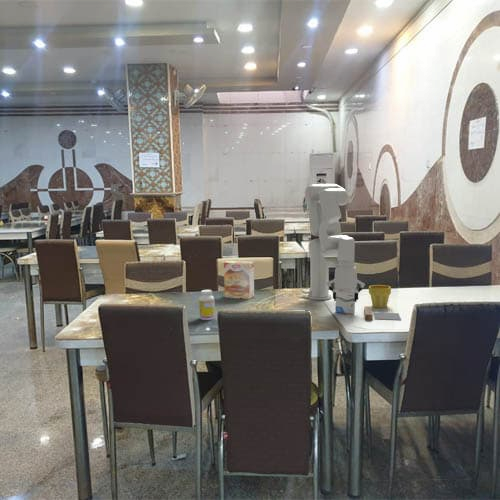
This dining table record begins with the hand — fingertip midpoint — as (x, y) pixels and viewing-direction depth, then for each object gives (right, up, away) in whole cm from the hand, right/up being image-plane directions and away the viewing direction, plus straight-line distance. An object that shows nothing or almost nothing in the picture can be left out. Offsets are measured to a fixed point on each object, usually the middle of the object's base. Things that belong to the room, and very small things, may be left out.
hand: (345, 300), depth 210 cm
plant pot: (+19, -4, +11) cm, 23 cm away
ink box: (0, -6, +1) cm, 6 cm away
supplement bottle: (-63, -8, -5) cm, 64 cm away
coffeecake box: (-50, -2, +38) cm, 63 cm away
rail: (+9, -6, -6) cm, 12 cm away
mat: (+17, -6, -8) cm, 20 cm away
